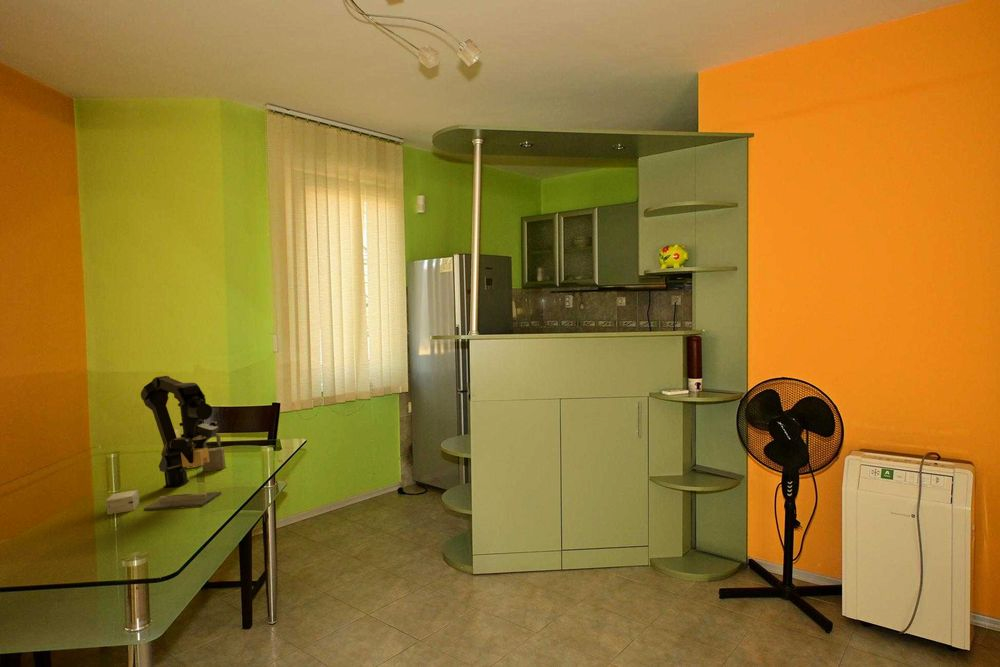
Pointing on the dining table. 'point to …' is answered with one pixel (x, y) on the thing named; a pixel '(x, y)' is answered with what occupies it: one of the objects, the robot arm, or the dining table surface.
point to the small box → (122, 502)
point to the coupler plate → (182, 500)
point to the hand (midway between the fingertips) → (195, 460)
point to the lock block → (197, 457)
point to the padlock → (215, 457)
